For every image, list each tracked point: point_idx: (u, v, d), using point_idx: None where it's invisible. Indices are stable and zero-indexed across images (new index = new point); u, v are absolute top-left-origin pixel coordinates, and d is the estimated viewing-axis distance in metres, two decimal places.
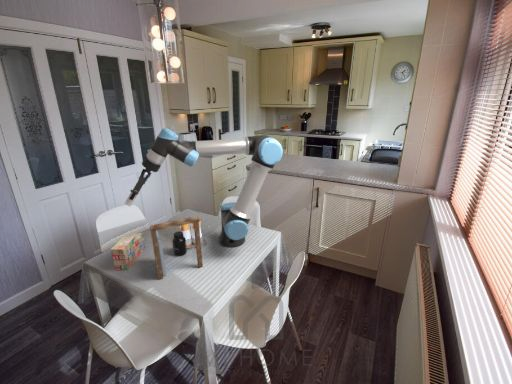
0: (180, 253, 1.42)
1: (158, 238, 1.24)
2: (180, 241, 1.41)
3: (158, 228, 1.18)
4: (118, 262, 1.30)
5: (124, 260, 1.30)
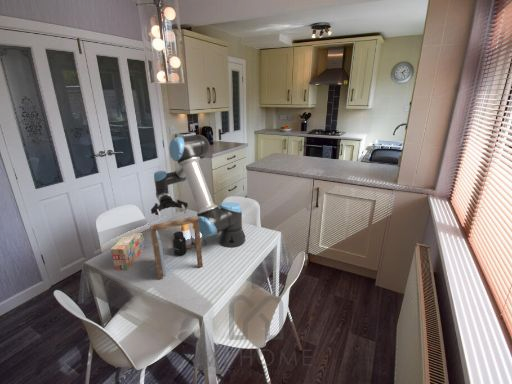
0: (180, 253, 1.42)
1: (158, 238, 1.24)
2: (180, 241, 1.41)
3: (158, 228, 1.18)
4: (118, 262, 1.31)
5: (124, 260, 1.30)
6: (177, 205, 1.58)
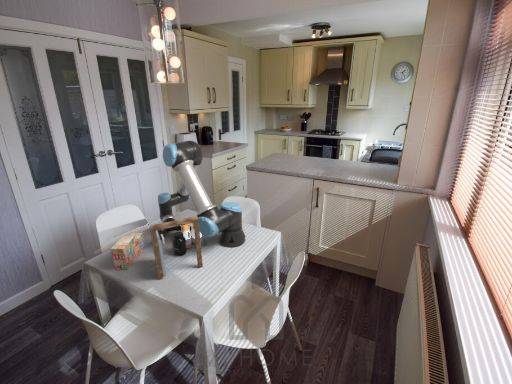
0: (180, 253, 1.42)
1: (158, 238, 1.24)
2: (180, 241, 1.41)
3: (158, 228, 1.18)
4: (118, 262, 1.31)
5: (124, 259, 1.30)
6: None
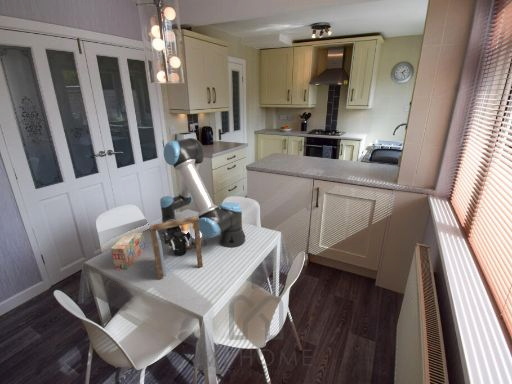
0: (180, 253, 1.42)
1: (158, 238, 1.24)
2: (180, 241, 1.40)
3: (158, 228, 1.18)
4: (118, 261, 1.31)
5: (124, 259, 1.31)
6: None
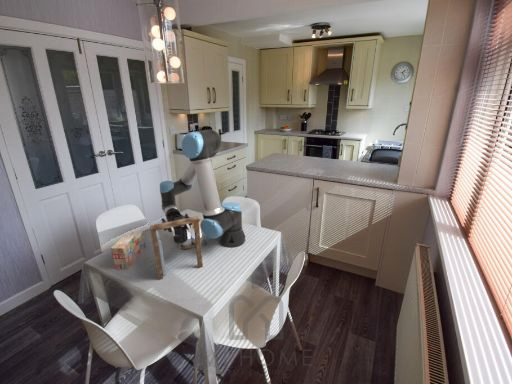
0: (181, 240, 1.32)
1: (158, 238, 1.24)
2: (180, 226, 1.30)
3: (158, 228, 1.18)
4: (118, 261, 1.31)
5: (124, 259, 1.31)
6: None
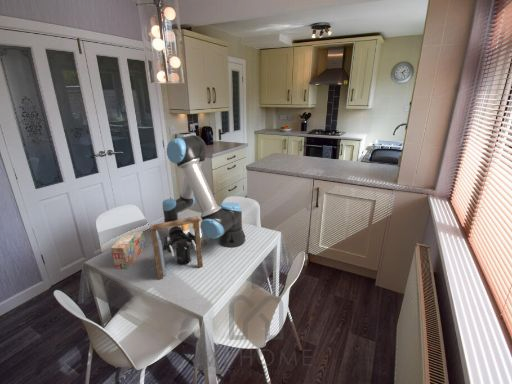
0: (184, 262, 1.35)
1: (158, 238, 1.24)
2: (184, 249, 1.33)
3: (158, 228, 1.18)
4: (118, 260, 1.32)
5: (124, 258, 1.31)
6: (187, 239, 1.42)
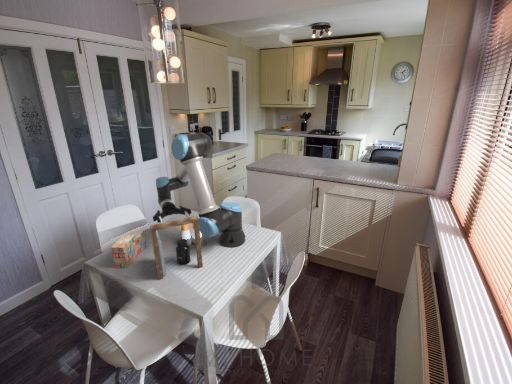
0: (184, 262, 1.35)
1: (158, 238, 1.24)
2: (184, 249, 1.33)
3: (158, 228, 1.18)
4: (118, 260, 1.32)
5: (124, 258, 1.32)
6: (180, 212, 1.51)
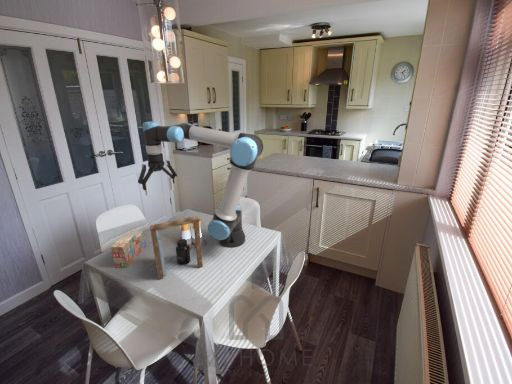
0: (184, 262, 1.35)
1: (158, 238, 1.24)
2: (184, 249, 1.33)
3: (158, 228, 1.18)
4: (118, 260, 1.33)
5: (124, 258, 1.32)
6: (166, 173, 1.43)
